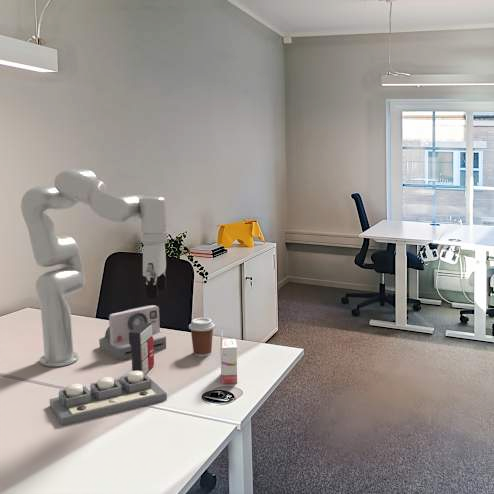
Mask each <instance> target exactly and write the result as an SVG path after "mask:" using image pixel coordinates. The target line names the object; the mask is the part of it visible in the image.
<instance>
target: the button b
mask: <svg viewBox="0 0 494 494" xmlns="http://www.w3.org/2000/svg"><path fill="white" fill-rule="evenodd" d="M114 380H115V379H114V377H111V376H105V377H104V376H103V377H99V378H98V379H97V381H96V382H98V390H100V391H102V390H107V389H111V388H114Z"/></svg>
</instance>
